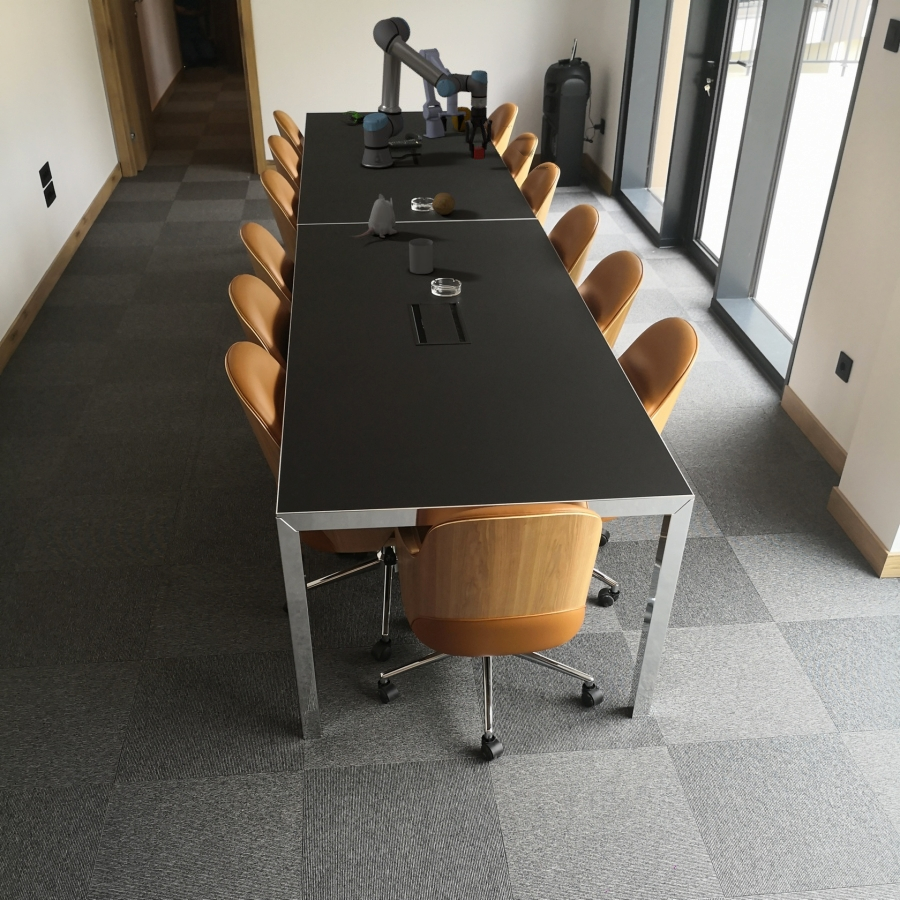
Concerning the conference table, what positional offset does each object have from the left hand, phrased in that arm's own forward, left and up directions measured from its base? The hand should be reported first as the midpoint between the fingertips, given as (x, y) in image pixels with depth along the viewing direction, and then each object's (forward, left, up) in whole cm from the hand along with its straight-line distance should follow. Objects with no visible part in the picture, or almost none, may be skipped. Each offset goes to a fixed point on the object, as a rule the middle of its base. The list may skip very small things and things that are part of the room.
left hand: (477, 157), depth 419 cm
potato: (+67, +26, -6) cm, 72 cm away
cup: (+125, +57, -6) cm, 137 cm away
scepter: (-48, -108, -6) cm, 118 cm away
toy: (+108, +21, -6) cm, 110 cm away
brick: (0, 0, 0) cm, 0 cm away
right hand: (-36, -40, +1) cm, 54 cm away
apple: (-63, -52, -6) cm, 82 cm away
